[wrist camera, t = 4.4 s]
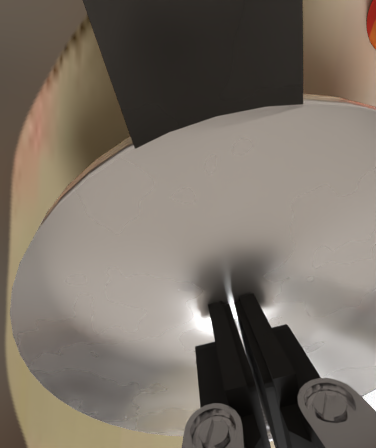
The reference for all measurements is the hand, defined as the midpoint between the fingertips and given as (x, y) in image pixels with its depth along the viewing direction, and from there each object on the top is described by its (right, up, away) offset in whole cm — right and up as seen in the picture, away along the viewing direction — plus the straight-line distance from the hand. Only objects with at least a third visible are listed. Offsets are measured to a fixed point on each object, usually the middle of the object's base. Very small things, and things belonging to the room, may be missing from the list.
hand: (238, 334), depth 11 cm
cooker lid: (0, +1, +1) cm, 2 cm away
